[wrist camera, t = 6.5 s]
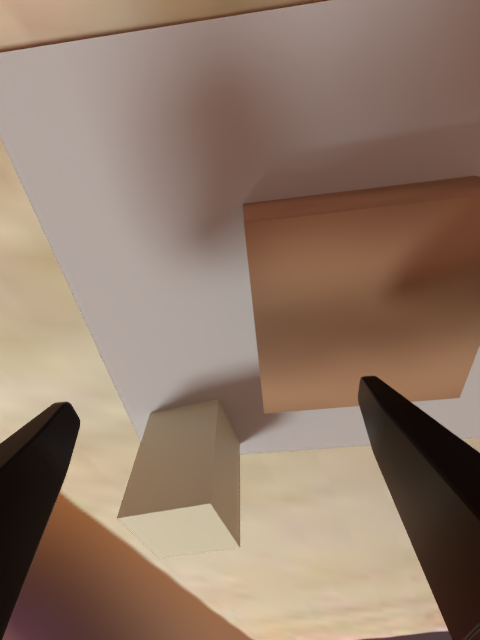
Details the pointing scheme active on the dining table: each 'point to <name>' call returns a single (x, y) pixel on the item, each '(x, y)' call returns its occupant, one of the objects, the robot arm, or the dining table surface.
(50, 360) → the dining table surface
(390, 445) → the robot arm
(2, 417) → the dining table surface
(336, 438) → the mat
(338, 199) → the plinth
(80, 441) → the dining table surface
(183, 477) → the beige rectangular block
